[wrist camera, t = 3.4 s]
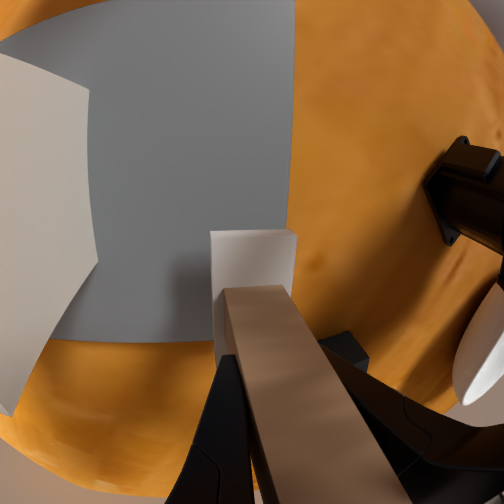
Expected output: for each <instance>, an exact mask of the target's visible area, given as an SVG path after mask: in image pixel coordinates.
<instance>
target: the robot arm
mask: <svg viewBox="0 0 504 504" xmlns="http://www.w3.org/2000/svg"><path fill="white" fill-rule="evenodd" d="M423 187H424V190H425V193H426V195H427V197H428V200H429V202H430V204H431V207H432V209H433V212H434V214H435V217H436V220H437V222H438V225H439V228H440V230H441V233H442V236H443V239H444V242H445V244H446V245H448V246H452V245H453V244H454V242H455V241H456V240H457V238H458V237H459V236H460V234H462V235H464V236H466V237H468V238H470V239H472V240H474V241H476V242H478V243H480V244H482V245H484V246H485V247H487V248H489V249H491V250H493V251H495V252H496V253H498V254H500V255H502V256H503V259H502V264H501V269H500V273H499V274H498V277H497V284H498V285H499V286H500V287H501V289H502V290H503V291H504V156H501V154H500V152H499V151H497V150H494V149H489V148H484V147H479V146H474V145H470V143H469V140H468V138H467V137H466V136H460V137H459V138H458V139H457V141H456V142H455V143H454V145H453V146H452V147H451V148H450V150H449V151H448V152H447V153H446V155H445V156H444V157H443V158H442V160H441V161H440V162H439V163H438V165H437V166H436V167H435V168H434V169H433V171H432V172H431V173H430V174H429V175H428V176H427V178H426V179H425V180H424V183H423ZM318 344H319V343H318ZM319 346H320V347H321V349H322V351H323V352H324V354H325V356H326V357H327V359H328V361H329V362H330V364H331V366H332V367H333V369H334V371H335V372H336V374H337V376H338V377H339V379H340V381H341V382H342V384H343V386H344V387H345V389H346V391H347V392H348V394H349V396H350V397H351V399H352V401H353V402H354V404H355V406H356V407H357V409H358V411H359V413H360V414H361V416H362V418H363V419H364V421H365V423H366V424H367V426H368V428H369V430H370V431H371V433H372V435H373V436H374V438H375V440H376V441H377V443H378V445H379V447H380V448H381V450H382V452H383V453H384V455H385V457H386V459H387V460H388V462H389V464H390V465H391V467H392V469H393V471H394V472H395V474H396V476H397V478H398V479H399V481H400V483H401V485H402V486H403V488H404V490H405V492H406V493H407V495H408V497H409V499H410V500H411V502H412V504H504V424H499V425H494V426H488V427H475V426H470V425H467V424H464V423H462V422H459V421H456V420H454V419H452V418H449V417H447V416H444V415H442V414H439V413H437V412H435V411H433V410H431V409H428V408H426V407H424V406H422V405H421V404H419V403H417V402H415V401H413V400H411V399H410V398H408V397H406V396H403V395H402V394H401V393H399V392H397V391H396V390H394V389H392V388H391V387H389V386H387V385H386V384H384V383H382V382H381V381H379V380H377V379H376V378H374V377H372V376H371V375H369V374H367V373H366V372H364V371H362V370H361V369H359V368H357V367H356V366H354V365H353V364H351V363H349V362H348V361H346V360H345V359H343V358H341V357H340V356H338V355H337V354H335V353H333V352H332V351H330V350H329V349H327V348H326V347H324V346H323V345H321V344H319ZM165 504H255V499H254V489H253V479H252V468H251V457H250V446H249V435H248V423H247V410H246V398H245V387H244V383H243V380H242V376H241V373H240V369H239V366H238V362H237V359H236V355H235V354H228V355H222V356H221V359H220V362H219V365H218V368H217V371H216V374H215V377H214V380H213V383H212V386H211V389H210V391H209V394H208V397H207V400H206V403H205V406H204V409H203V412H202V415H201V418H200V421H199V424H198V427H197V430H196V433H195V436H194V439H193V442H192V445H191V447H190V450H189V453H188V456H187V458H186V461H185V463H184V466H183V468H182V471H181V473H180V475H179V477H178V479H177V481H176V483H175V485H174V487H173V489H172V491H171V493H170V494H169V496H168V498H167V500H166V502H165Z"/></svg>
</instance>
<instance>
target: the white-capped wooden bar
mask: <svg viewBox="0 0 504 504" xmlns="http://www.w3.org/2000/svg"><path fill="white" fill-rule="evenodd" d="M296 245H297V235H296V234H295V233H294V232H293V231H292V230H290V229H271V230H229V231H210V257H211V291H212V315H213V334H214V351H215V361H216V368H218V365H219V362H220V359H221V356H222V355H228V354H235V355H236V359H237V362H238V366H239V369H240V373H241V376H242V380H243V383H244V387H245V398H246V410H247V423H248V435H249V446H250V455H251V459H252V463H253V467H254V471H255V475H256V478H257V482H258V486H259V489H260V493H261V496H262V500H263V504H412V502H411V500H410V499H409V497H408V495H407V493H406V492H405V490H404V488H403V486H402V485H401V483H400V481H399V479H398V478H397V476H396V474H395V472H394V471H393V469H392V467H391V465H390V464H389V462H388V460H387V459H386V457H385V455H384V453H383V452H382V450H381V448H380V447H379V445H378V443H377V441H376V440H375V438H374V436H373V435H372V433H371V431H370V430H369V428H368V426H367V424H366V423H365V421H364V419H363V418H362V416H361V414H360V413H359V411H358V409H357V407H356V406H355V404H354V402H353V401H352V399H351V397H350V396H349V394H348V392H347V391H346V389H345V387H344V386H343V384H342V382H341V381H340V379H339V377H338V376H337V374H336V372H335V371H334V369H333V367H332V366H331V364H330V362H329V361H328V359H327V357H326V356H325V354H324V352H323V351H322V349H321V347H320V346H319V344H318V342H317V341H316V339H315V337H314V336H313V334H312V332H311V331H310V329H309V327H308V326H307V324H306V322H305V321H304V319H303V317H302V316H301V314H300V313H299V311H298V309H297V308H296V306H295V304H294V303H293V301H292V299H291V290H292V282H293V273H294V264H295V255H296Z"/></svg>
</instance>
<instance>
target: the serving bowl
mask: <svg viewBox="0 0 504 504" xmlns="http://www.w3.org/2000/svg"><path fill="white" fill-rule="evenodd" d="M503 374H504V291H503V290H502V289H501V287H500V286H499V285H498V284H497V281H496V283H495V284H494V285H493V287H492V288H491V289H490V291H489V292H488V294H487V295H486V297H485V298H484V300H483V301H482V303H481V304H480V306H479V307H478V309H477V311H476V312H475V314H474V316H473V318H472V320H471V321H470V323H469V325H468V327H467V329H466V331H465V333H464V335H463V337H462V339H461V342H460V344H459V347H458V349H457V352H456V356H455V359H454V363H453V370H452V382H453V387H454V391H455V393H456V396H457V398H458V399H459V401H460V403H461V404H462V405H463V406H466V405H469V404H471V403H472V402H474V401H475V400H477V399H478V398H479V397H481V396H482V395H483V394H484V393H485V392H487V391H488V390H489V389H490V388H491V387H492V386H493V385H494V384H495V383H496V382H497V381H498V379H499V378H500V377H501V376H502V375H503Z"/></svg>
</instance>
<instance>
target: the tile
mask: <svg viewBox="0 0 504 504" xmlns="http://www.w3.org/2000/svg"><path fill="white" fill-rule="evenodd" d="M88 102H89V89H87V88H85V87H83V86H80V85H78V84H76V83H74V82H72V81H69V80H67V79H65V78H62V77H60V76H58V75H56V74H53V73H51V72H48V71H46V70H44V69H41V68H39V67H36V66H34V65H31V64H29V63H26V62H23V61H21V60H18V59H15V58H12V57H10V56H7V55H4V54H1V53H0V413H2V414H4V415H7V416H10V417H12V416H13V413H14V411H15V408H16V406H17V403H18V401H19V398H20V396H21V394H22V391H23V389H24V387H25V385H26V382H27V380H28V378H29V376H30V374H31V372H32V370H33V368H34V366H35V364H36V362H37V360H38V358H39V356H40V354H41V352H42V350H43V348H44V346H45V344H46V343H47V341H48V339H49V337H50V335H51V334H52V332H53V330H54V328H55V327H56V325H57V323H58V322H59V320H60V318H61V317H62V315H63V313H64V312H65V310H66V308H67V307H68V305H69V304H70V302H71V300H72V299H73V297H74V296H75V294H76V293H77V291H78V290H79V288H80V287H81V285H82V284H83V282H84V281H85V279H86V278H87V276H88V275H89V274H90V272H91V271H92V269H93V268H94V267H95V265H96V264H97V262H98V257H97V251H96V245H95V239H94V232H93V224H92V216H91V207H90V196H89V183H88V162H87V122H88Z"/></svg>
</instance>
